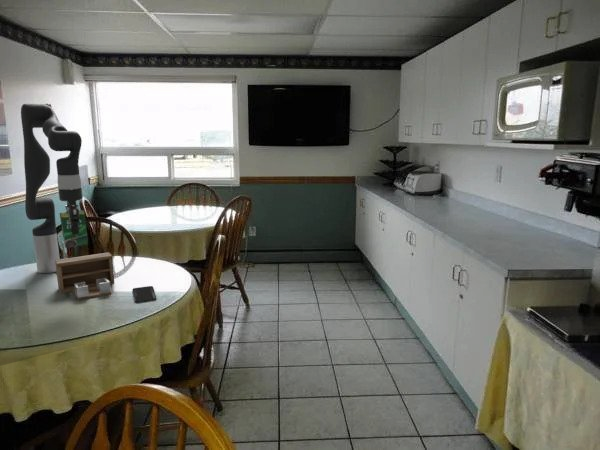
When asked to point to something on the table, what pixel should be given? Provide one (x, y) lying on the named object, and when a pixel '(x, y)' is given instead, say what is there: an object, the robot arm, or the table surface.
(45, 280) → the table surface
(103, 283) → the grey open rectangular frame
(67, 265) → the walnut cabinet
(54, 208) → the robot arm
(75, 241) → the coffee box
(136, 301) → the phone
